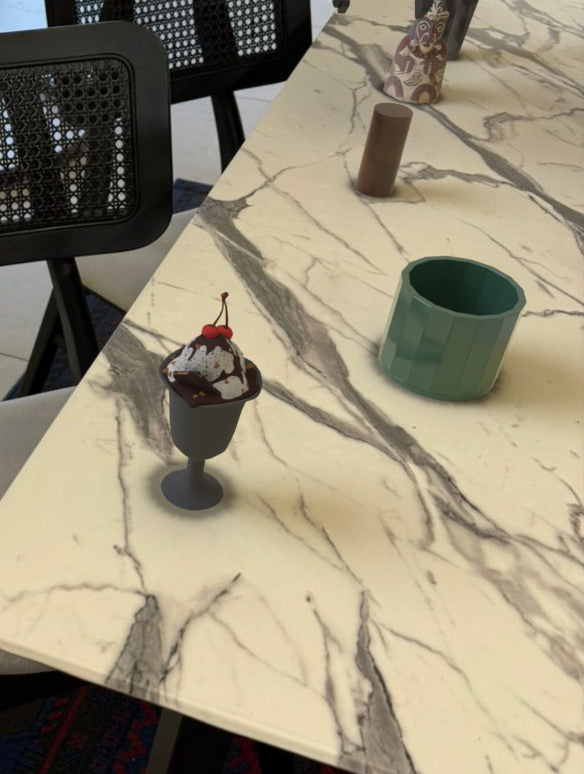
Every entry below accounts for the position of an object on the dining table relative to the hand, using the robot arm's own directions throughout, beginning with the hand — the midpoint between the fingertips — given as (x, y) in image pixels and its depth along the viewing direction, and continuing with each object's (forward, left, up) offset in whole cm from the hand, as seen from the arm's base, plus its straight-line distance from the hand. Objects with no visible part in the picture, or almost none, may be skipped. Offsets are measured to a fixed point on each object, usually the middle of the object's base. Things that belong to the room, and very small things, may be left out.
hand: (383, 12), depth 109 cm
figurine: (+1, -22, -15) cm, 27 cm away
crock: (-23, +38, -15) cm, 47 cm away
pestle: (-6, +9, -15) cm, 19 cm away
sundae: (-14, +64, -15) cm, 67 cm away
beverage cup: (+3, -40, -15) cm, 43 cm away
